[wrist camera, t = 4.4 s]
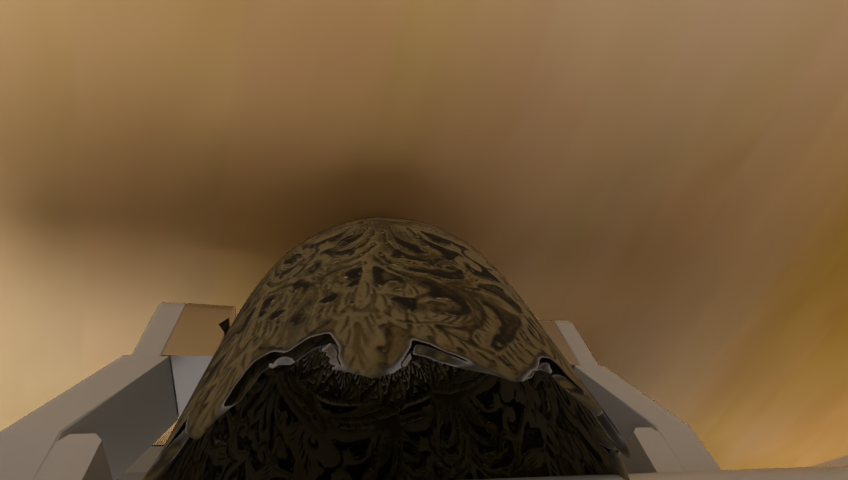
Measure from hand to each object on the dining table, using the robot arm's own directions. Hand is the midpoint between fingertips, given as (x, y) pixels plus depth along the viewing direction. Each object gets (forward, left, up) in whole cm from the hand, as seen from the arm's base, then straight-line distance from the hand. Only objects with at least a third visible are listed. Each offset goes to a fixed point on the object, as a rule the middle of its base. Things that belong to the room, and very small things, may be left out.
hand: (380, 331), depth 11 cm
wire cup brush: (0, 0, -3) cm, 3 cm away
